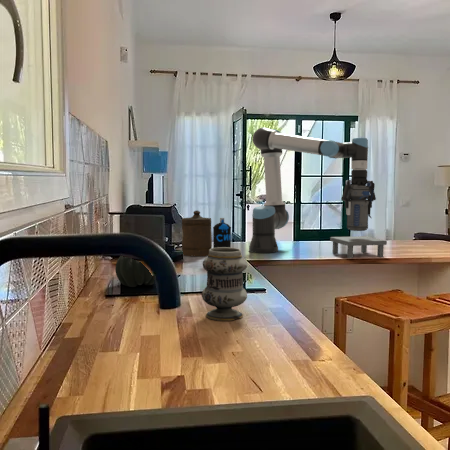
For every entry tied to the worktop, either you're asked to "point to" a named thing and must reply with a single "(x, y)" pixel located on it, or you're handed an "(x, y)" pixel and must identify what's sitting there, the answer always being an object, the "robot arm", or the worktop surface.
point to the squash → (132, 272)
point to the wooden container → (196, 235)
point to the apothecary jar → (224, 283)
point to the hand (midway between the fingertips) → (358, 214)
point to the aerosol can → (221, 235)
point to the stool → (358, 244)
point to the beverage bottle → (359, 206)
